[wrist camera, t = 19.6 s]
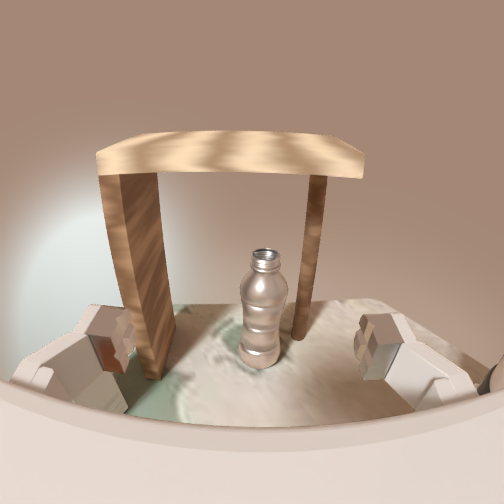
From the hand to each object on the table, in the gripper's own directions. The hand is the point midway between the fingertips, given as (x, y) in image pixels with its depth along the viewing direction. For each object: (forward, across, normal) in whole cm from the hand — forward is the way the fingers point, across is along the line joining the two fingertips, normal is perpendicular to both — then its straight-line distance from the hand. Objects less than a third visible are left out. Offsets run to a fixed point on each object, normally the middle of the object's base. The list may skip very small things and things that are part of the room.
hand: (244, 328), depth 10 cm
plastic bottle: (+27, -2, +32) cm, 42 cm away
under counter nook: (+28, +2, +32) cm, 42 cm away
